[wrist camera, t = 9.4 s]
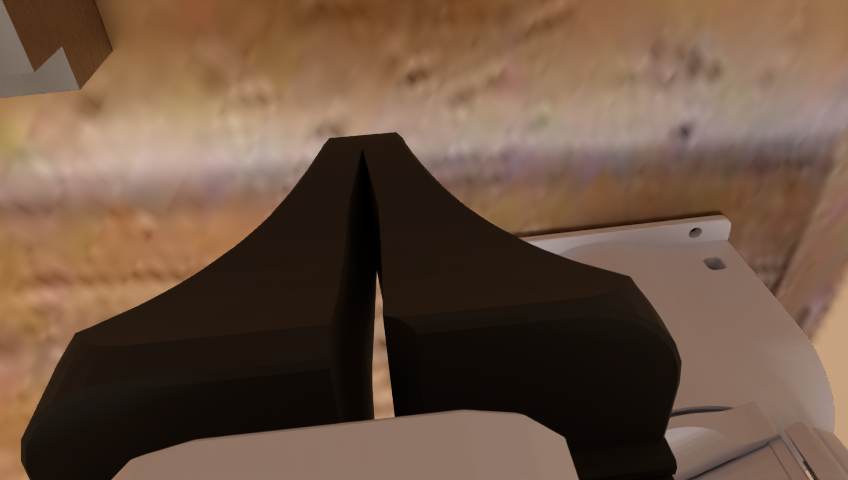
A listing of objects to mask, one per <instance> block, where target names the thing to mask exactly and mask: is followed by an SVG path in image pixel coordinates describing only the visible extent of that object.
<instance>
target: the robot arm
mask: <svg viewBox="0 0 848 480" xmlns="http://www.w3.org/2000/svg"><path fill="white" fill-rule="evenodd" d="M693 228H696V230H694V231H693V232H690V231H691V230H692V229H693ZM730 230H731V223H730V221H729V220H728V219H727V218H726V217H725V216H723V215H714V216H705V217H697V218H688V219H679V220H670V221H662V222H653V223H644V224H635V225H627V226H618V227H609V228H601V229H592V230H583V231H574V232H566V233H557V234H548V235H539V236H531V237H522V238H518V237H516V236H514V235H512V234H510V233H508V232H506V231H504V230H502V229H500V228H499V227H497V226H495V225H493V224H492V223H490V222H488V221H487V220H485V219H484V218H482V217H481V216H479V215H478V214H476V213H475V212H473V211H472V210H470V209H469V208H467V207H466V206H465V205H464V204H462V203H461V202H460V201H459V200H458V199H456V198H455V197H454V196H453V195H452V194H451V193H450V192H448V191H447V190H446V189H445V188H444V187H443V186H442V185H441V184H440V183H439V182H438V181H437V180H436V179H435V178H434V177H433V176H432V175H431V174H430V173H429V171H428V170H427V169H426V168H425V167H424V166H423V165H422V164H421V163H420V161H419V160H418V159H417V158H416V156H415V155H414V154H413V153H412V151H411V150H410V149H409V147H408V146H407V144H406V143H405V141H404V140H403V138H402V137H401V136H400V135H399V134H398V133H396V132H394V133H383V134H371V135H360V136H349V137H337V138H329V139H328V141H327V142H326V143H325V144H324V145H323V147H322V149H321V150H320V152H319V153H318V155H317V156H316V158H315V159H314V161H313V162H312V164H311V165H310V167H309V168H308V170H307V171H306V172H305V174H304V175H303V176H302V178H301V179H300V180H299V182H298V183H297V184H296V186H295V187H294V188H293V190H292V191H291V192H290V193H289V195H288V196H287V197H286V198H285V199H284V200H283V201H282V203H281V204H280V205H279V206H278V207H277V208H276V209H275V210H274V212H273V213H272V214H271V215H270V216H269V217H268V218H267V219H266V220H265V221H264V222H263V223H262V224H261V225H260V226H259V227H258V228H256V229H255V230H254V231H253V232H252V233H251V234H249V235H248V236H247V237H246V238H245V239H244V240H242V241H241V242H240V243H239V244H237V245H236V246H235V247H234V248H232V249H231V250H229V251H228V252H227V253H225V254H224V255H222V256H221V257H220V258H218V259H217V260H215V261H214V262H212V263H211V264H210V265H208V266H207V267H205V268H204V269H203V270H201V271H200V272H198V273H196V274H195V275H193V276H192V277H190V278H188V279H187V280H185V281H183V282H182V283H180V284H178V285H177V286H175V287H173V288H171V289H169V290H167V291H166V292H164V293H162V294H160V295H158V296H156V297H155V298H153V299H151V300H149V301H147V302H145V303H143V304H141V305H139V306H137V307H135V308H132V309H130V310H128V311H126V312H123V313H121V314H119V315H117V316H114V317H112V318H110V319H108V320H105V321H103V322H101V323H99V324H97V325H94V326H92V327H90V328H87V329H85V330H82V331H80V332H77V333H75V335H74V337H73V338H72V340H71V342H70V343H69V345H68V347H67V349H66V350H65V352H64V354H63V355H62V357H61V359H60V361H59V362H58V364H57V366H56V368H55V370H54V372H53V375H52V377H51V379H50V381H49V383H48V385H47V387H46V389H45V391H44V393H43V395H42V397H41V400H40V402H39V404H38V406H37V408H36V410H35V412H34V414H33V416H32V418H31V420H30V422H29V424H28V426H27V429H26V431H25V433H24V435H23V437H22V439H21V462H22V464H23V466H24V468H25V471H26V473H27V475H28V477H29V479H30V480H810V479H809V477H808V476H807V474H806V473H805V471H806V470H808V471H809V473H810V474H811V476H812V477H813V479H814V480H848V450H847V448H846V447H845V446H844V445H843V444H842V442H841V441H840V440H839V439H838V438H837V437H836V436H835V435H834V434H833V431H834V417H835V416H834V402H833V396H832V392H831V388H830V385H829V382H828V378H827V375H826V373H825V370H824V367H823V365H822V363H821V360H820V358H819V356H818V354H817V352H816V350H815V349H814V347H813V345H812V344H811V342H810V340H809V339H808V337H807V336H806V335H805V333H804V332H803V331H802V329H801V328H800V327H799V326H798V325H797V323H796V322H795V321H794V320H793V319H792V317H791V316H790V315H789V314H788V313H787V311H786V310H785V309H784V308H783V306H782V305H781V304H780V303H779V302H778V300H777V299H776V298H775V297H774V296H773V294H772V293H771V292H770V291H769V290H768V288H767V287H766V286H765V285H764V284H763V282H762V281H761V280H760V279H759V278H758V276H757V275H756V274H755V273H754V271H753V270H752V269H751V268H750V267H749V265H748V264H747V263H746V262H745V261H744V259H743V258H742V257H741V256H740V255H739V253H738V252H737V251H736V250H735V249H734V247H733V246H732V245H731V244H730V243H729V241H728V237H729V234H730ZM377 274H378V279H379V284H380V289H381V294H382V300H383V320H384V329H385V337H386V346H387V354H388V363H389V371H390V380H391V388H392V397H393V405H394V414H395V417H392V418H383V419H374V406H373V389H372V360H373V340H374V319H375V299H376V277H377Z"/></svg>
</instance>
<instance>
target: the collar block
mask: <svg viewBox="0 0 848 480" xmlns="http://www.w3.org/2000/svg"><path fill="white" fill-rule="evenodd" d="M111 52H112V49H111V46H110V43H109V40H108V38H107V35H106V32H105V29H104V27H103V24H102V21H101V19H100V16H99V13H98V10H97V8H96V5H95V2H94V0H0V98H5V97H15V96H25V95H35V94H44V93H54V92H64V91H74V90H80V89H81V88H82V87H83V86H84V84H85V83H86V82H87V81H88V80H89V79H90V77H91V76H92V75H93V74H94V73H95V71H96V70H97V69H98V68H99V67H100V65H101V64H102V63H103V62H104V61H105V59H106V58H107V57H108V56H109V55H110V54H111Z"/></svg>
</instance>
